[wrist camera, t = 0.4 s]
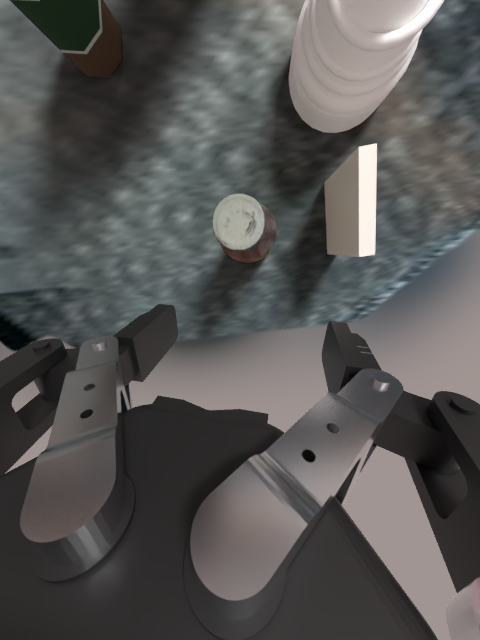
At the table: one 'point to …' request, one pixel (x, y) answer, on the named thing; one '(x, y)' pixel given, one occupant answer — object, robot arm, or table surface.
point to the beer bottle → (79, 32)
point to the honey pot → (352, 57)
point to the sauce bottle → (244, 227)
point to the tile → (352, 205)
